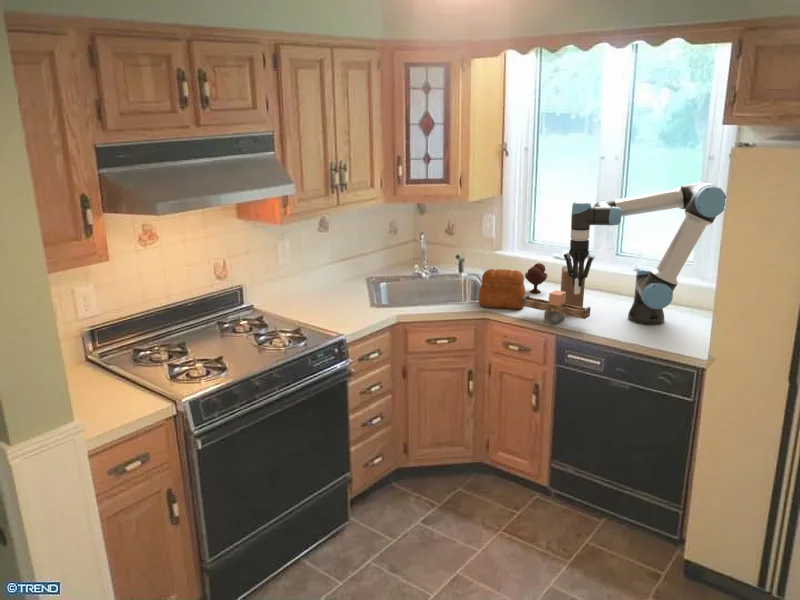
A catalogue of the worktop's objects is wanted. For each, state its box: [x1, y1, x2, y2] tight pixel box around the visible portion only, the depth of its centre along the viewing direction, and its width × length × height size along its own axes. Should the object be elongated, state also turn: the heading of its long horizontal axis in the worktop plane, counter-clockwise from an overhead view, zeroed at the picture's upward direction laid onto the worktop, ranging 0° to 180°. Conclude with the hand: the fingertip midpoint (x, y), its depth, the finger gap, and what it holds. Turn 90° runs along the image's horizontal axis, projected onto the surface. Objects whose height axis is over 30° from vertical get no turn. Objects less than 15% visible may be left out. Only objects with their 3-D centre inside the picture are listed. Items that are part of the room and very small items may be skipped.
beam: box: [522, 294, 591, 326], centre depth 299 cm, size 30×8×9 cm, turn 52°
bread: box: [478, 268, 526, 310], centre depth 323 cm, size 18×21×17 cm
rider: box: [548, 289, 566, 306], centre depth 297 cm, size 5×6×6 cm
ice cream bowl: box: [524, 262, 548, 295], centre depth 342 cm, size 11×11×15 cm
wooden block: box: [560, 265, 586, 308], centre depth 313 cm, size 10×10×20 cm
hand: (577, 293), depth 291 cm, fingers closed
